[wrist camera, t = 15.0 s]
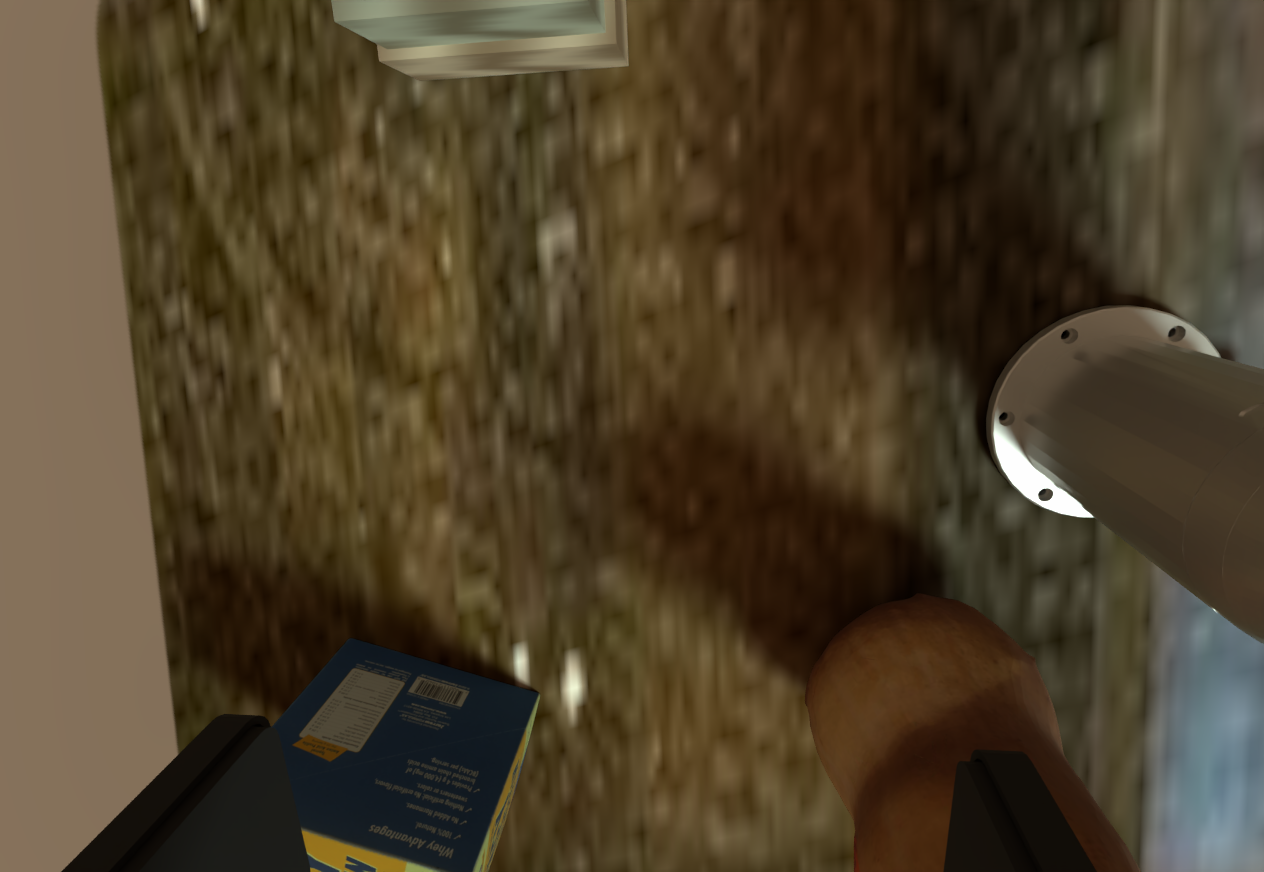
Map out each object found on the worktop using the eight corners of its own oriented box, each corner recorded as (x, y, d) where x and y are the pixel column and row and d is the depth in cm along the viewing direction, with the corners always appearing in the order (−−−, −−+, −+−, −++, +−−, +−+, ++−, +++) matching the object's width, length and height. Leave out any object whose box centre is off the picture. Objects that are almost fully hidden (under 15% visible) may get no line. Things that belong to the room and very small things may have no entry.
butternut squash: (769, 599, 46) (828, 997, 23) (969, 535, 43) (1281, 915, 20) (836, 757, 49) (951, 1250, 26) (1028, 708, 47) (1355, 1214, 23)
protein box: (517, 795, 54) (444, 1010, 39) (332, 741, 54) (192, 933, 40) (543, 690, 51) (475, 882, 36) (347, 633, 51) (199, 800, 36)
